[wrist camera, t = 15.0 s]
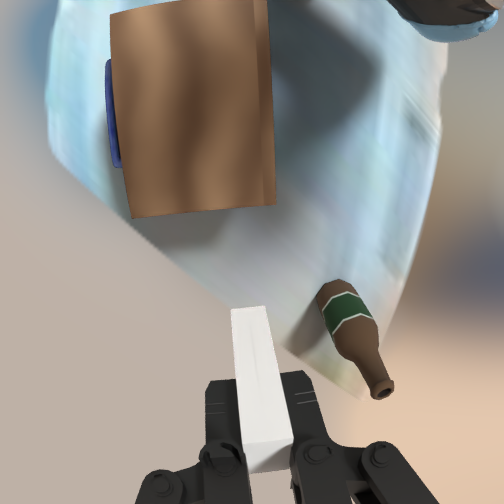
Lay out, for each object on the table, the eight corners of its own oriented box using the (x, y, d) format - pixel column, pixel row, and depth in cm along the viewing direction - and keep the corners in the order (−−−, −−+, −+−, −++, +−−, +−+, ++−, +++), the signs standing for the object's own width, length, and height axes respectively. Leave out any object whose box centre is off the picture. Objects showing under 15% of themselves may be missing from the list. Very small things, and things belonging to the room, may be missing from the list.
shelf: (160, 177, 44) (131, 218, 29) (148, 43, 34) (110, 14, 19) (256, 167, 45) (276, 204, 30) (249, 32, 35) (266, -5, 20)
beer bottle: (311, 311, 58) (351, 413, 37) (319, 277, 55) (369, 379, 34) (347, 310, 59) (396, 404, 38) (357, 277, 56) (418, 371, 35)
